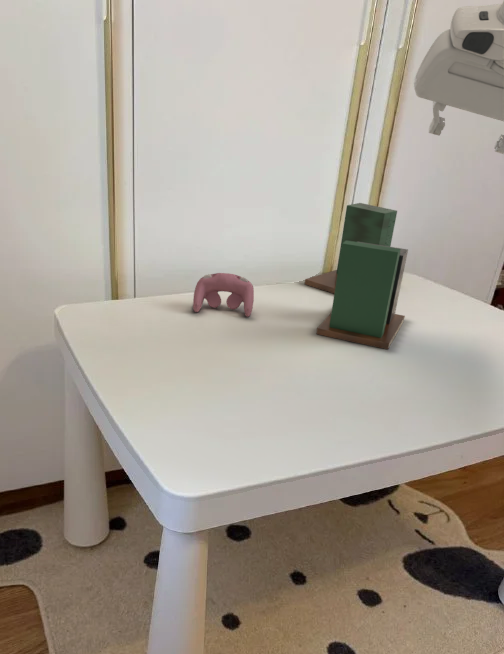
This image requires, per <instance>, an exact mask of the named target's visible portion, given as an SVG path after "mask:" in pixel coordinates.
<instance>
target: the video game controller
mask: <svg viewBox="0 0 504 654" xmlns="http://www.w3.org/2000/svg"><path fill="white" fill-rule="evenodd" d="M219 292H224V293H225V292H226V293H231V294H229V295H228V297H227V298H226V303H225V304H226V305H227V307H228V308H229V309H230V310H232V311H233V310H237V309H239V307H240V306H241V305H242V303H243V311H244V312H243V313H244V316H245V317H250V316H251V315H252V312H253V308H254V301H255V299H254V298H255V291H254V285H253V284H252V282H251V281H250V280H248V279H247V278H246V277H245V276H240V275H237V274H234V273H228V272H215V273H211V274H209V273H208V274H205V275H204V276H201V277H200V279H199V280H198V281H197V282H196V285H195V287H194V291H193V299H192V300H193V302H192V308H193V311H194V313H199V311H200V310H201V309H202V306H203V304H204V300H206V301H207V304H208V306H209V307H211V308H212V309H213V308H214V309H215V308H219V307H220V306H221V304H222V298H221V295H220V294H219Z"/></svg>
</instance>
